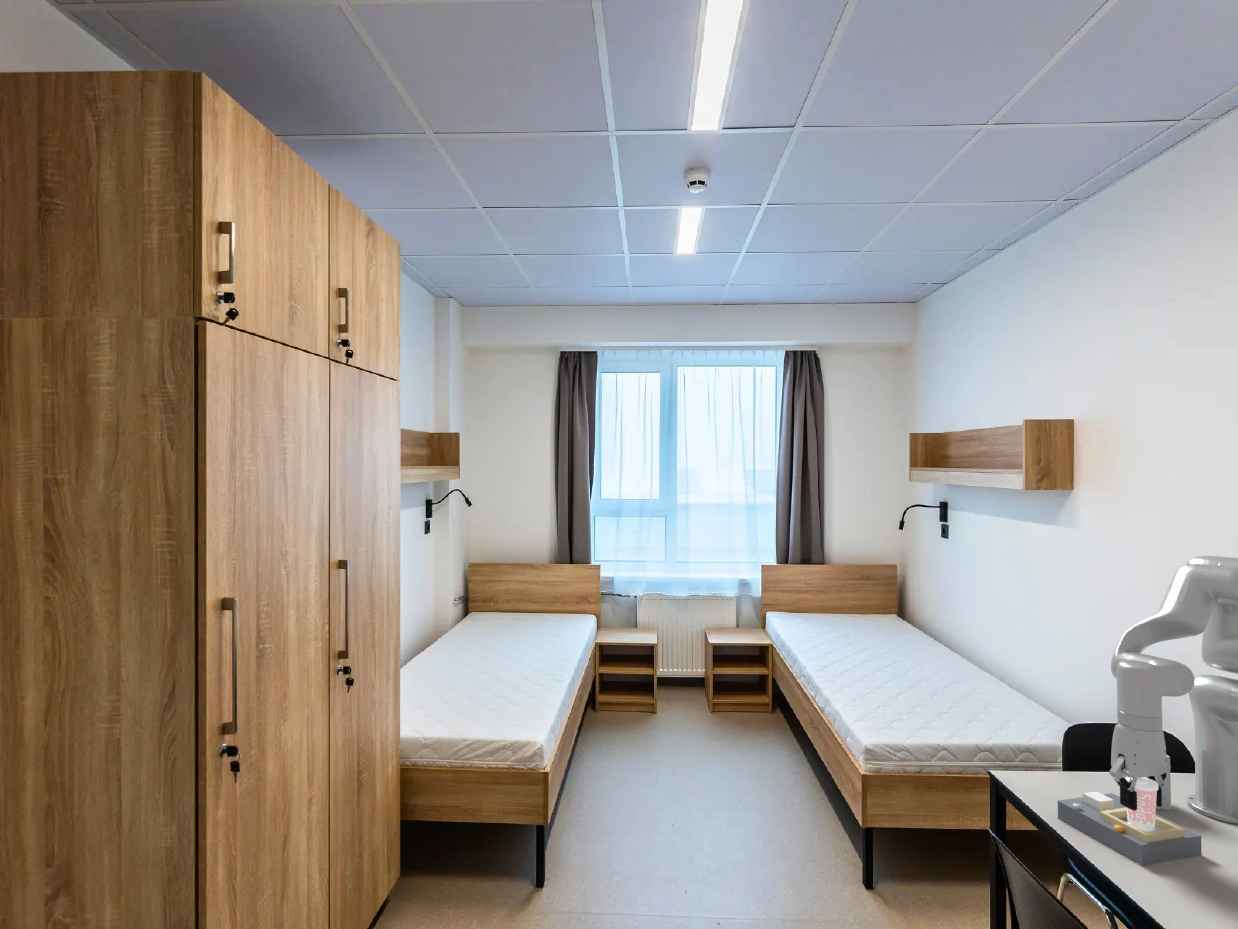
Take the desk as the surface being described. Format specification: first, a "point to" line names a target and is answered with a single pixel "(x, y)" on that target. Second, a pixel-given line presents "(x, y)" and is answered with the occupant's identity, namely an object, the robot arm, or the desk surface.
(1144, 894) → the desk surface
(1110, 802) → the block
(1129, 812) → the beverage cup
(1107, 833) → the gray panel board
